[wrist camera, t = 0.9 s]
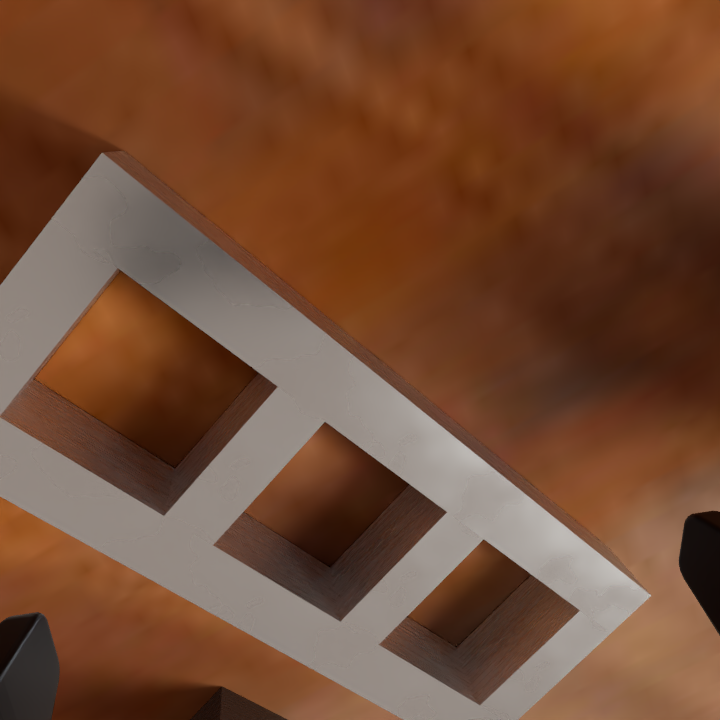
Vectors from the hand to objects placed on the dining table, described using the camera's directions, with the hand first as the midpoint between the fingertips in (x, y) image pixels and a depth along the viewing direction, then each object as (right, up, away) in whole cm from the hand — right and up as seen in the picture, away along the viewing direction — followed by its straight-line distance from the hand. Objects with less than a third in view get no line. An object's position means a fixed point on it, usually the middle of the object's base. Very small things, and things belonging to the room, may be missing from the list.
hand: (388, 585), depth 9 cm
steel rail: (-2, -2, +15) cm, 15 cm away
